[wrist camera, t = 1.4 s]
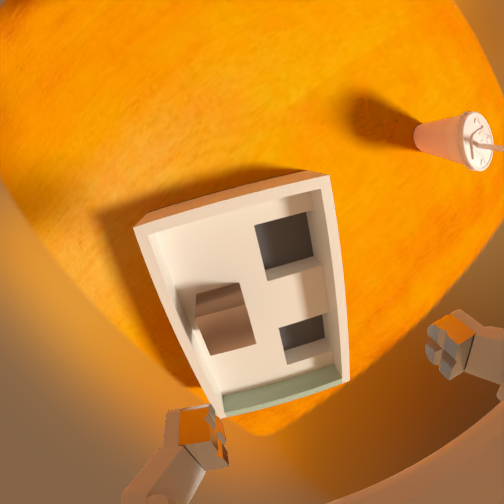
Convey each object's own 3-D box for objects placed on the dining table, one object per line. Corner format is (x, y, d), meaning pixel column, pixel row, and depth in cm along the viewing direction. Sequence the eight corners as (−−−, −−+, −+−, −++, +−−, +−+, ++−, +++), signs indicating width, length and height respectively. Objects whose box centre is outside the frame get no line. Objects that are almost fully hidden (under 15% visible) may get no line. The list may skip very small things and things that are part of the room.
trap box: (147, 213, 28) (132, 227, 22) (306, 170, 29) (329, 174, 23) (216, 386, 37) (219, 418, 31) (333, 352, 38) (349, 380, 32)
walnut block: (196, 294, 28) (194, 317, 24) (239, 282, 29) (244, 304, 24) (209, 329, 30) (210, 355, 26) (249, 318, 30) (256, 344, 26)
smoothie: (398, 141, 29) (488, 148, 16) (416, 103, 28) (503, 97, 15) (428, 172, 31) (513, 191, 18) (445, 135, 30) (527, 142, 16)
